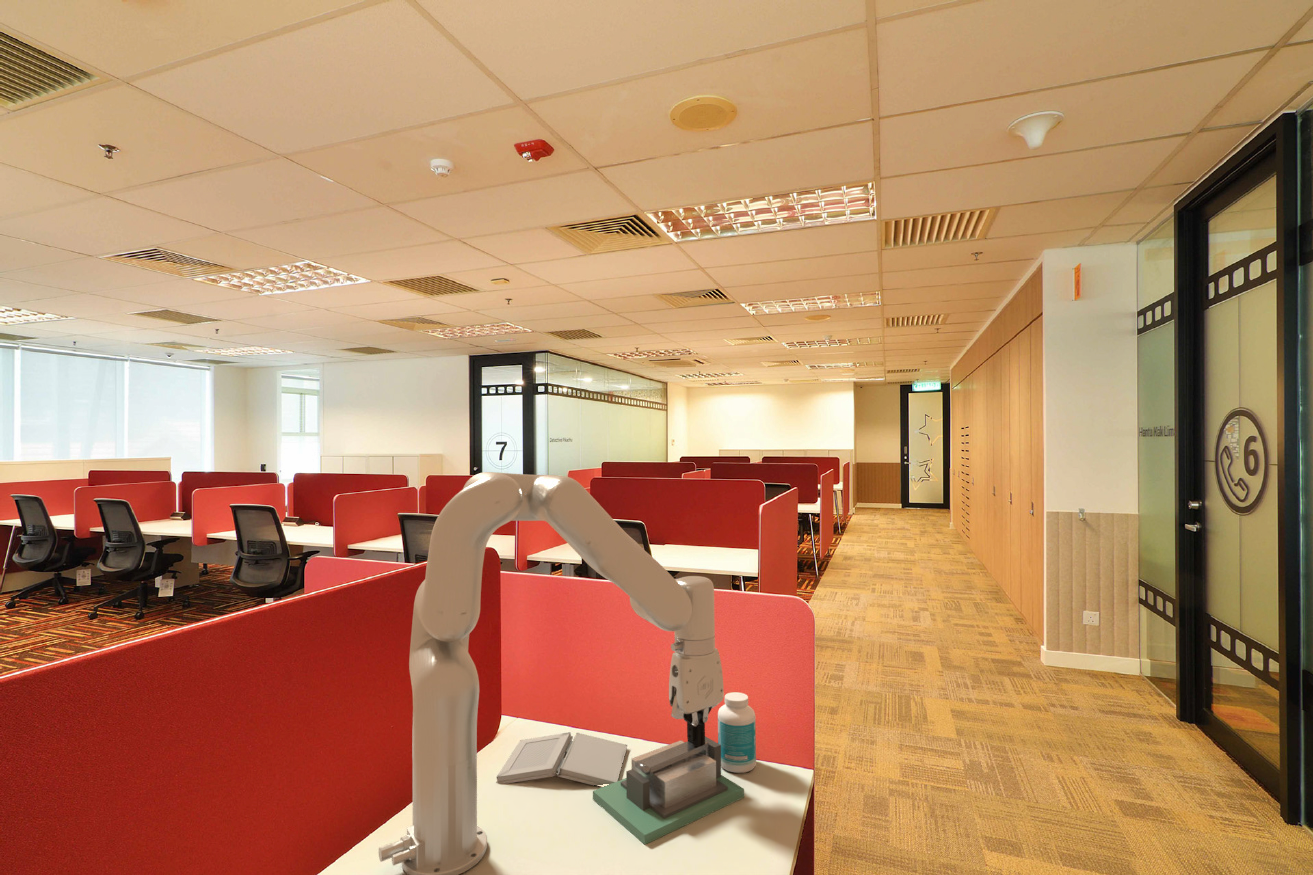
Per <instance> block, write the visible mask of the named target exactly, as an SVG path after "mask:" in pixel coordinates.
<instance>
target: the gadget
mask: <svg viewBox="0 0 1313 875" xmlns="http://www.w3.org/2000/svg"><path fill="white" fill-rule="evenodd" d="M626 749H628V744H624V743H620V742H617V741H613V740H609V739H604V738H600V737H597V736H592V735H588V734H584V733H580V732H576V734H575V736H574V738H573V735H572V733H571V732H570V731H569V732H564V733H558V734H557V733H556V734H550V735H544V736H537V737H533V738H532V737H531V738H525V739H521V740H519V742H517V745H516V746H515V748H514V750H513V751H512V752H511V754H510V756H509V757H508V758H507V760H506V762H505V763H504V764H503V766H502V768H501V769H500V771H499V772H498V774H497V775H496V782H495V783H496V784H512V783H517V782H524V781H531V780H532V781H533V780H537V779H538V780H539V779H544V778H551V777H555V776H556V777H559V778H563V779H567V780H571V781H575V782H579V783H583V784H587V785H589V786H590V785H591V786H594V785H603V784H612V783H615V782H617V781H619V777H620V775H619V774H621V771H622V768H621V767H623V764H624V759H625V757H624V756H626V753H627V750H626ZM622 763H623V764H622Z"/></svg>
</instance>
